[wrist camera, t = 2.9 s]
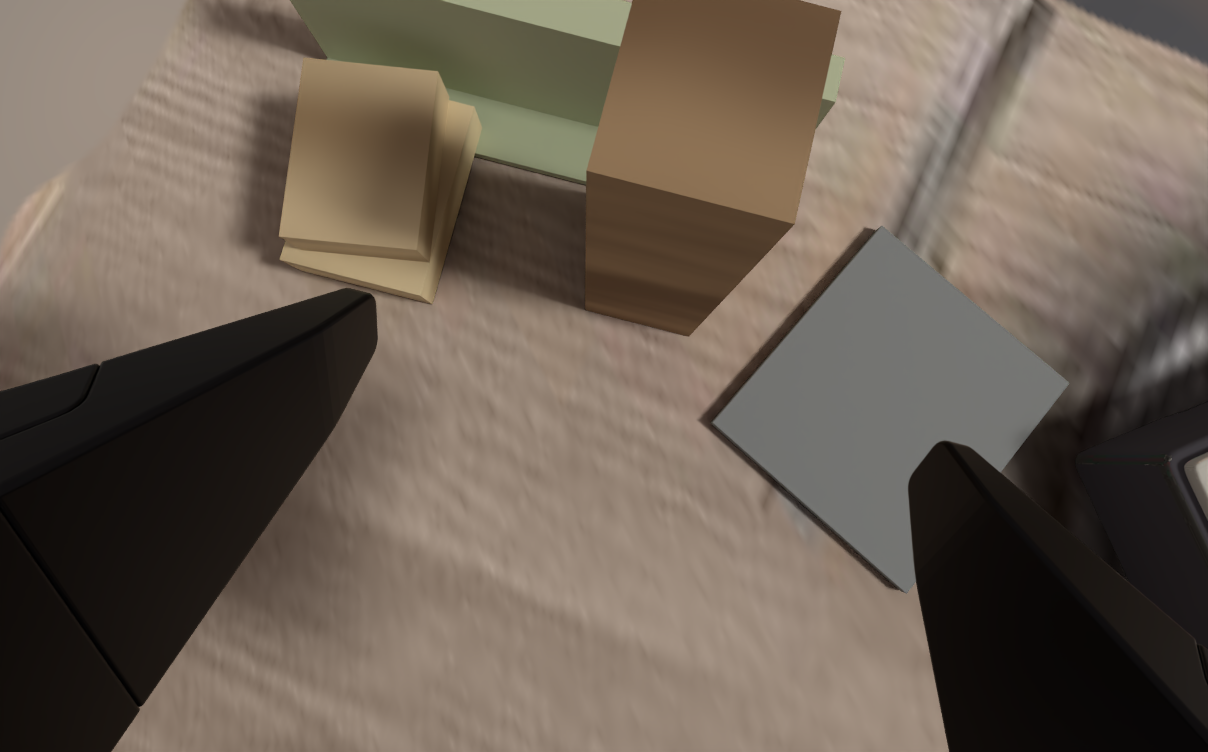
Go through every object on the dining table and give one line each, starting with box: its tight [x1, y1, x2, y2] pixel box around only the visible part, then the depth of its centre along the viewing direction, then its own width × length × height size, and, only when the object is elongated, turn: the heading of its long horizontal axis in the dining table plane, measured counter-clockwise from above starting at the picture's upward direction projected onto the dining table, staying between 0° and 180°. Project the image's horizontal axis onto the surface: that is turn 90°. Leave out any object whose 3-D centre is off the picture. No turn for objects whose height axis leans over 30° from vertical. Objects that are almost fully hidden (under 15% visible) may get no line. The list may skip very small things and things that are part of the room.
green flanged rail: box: [290, 0, 845, 185], centre depth 20 cm, size 5×18×5 cm, turn 76°
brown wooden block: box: [585, 0, 841, 336], centre depth 17 cm, size 4×4×11 cm
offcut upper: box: [279, 58, 449, 263], centre depth 20 cm, size 6×4×2 cm
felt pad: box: [711, 226, 1069, 594], centre depth 21 cm, size 10×9×1 cm
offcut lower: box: [280, 100, 482, 304], centre depth 21 cm, size 7×5×2 cm
